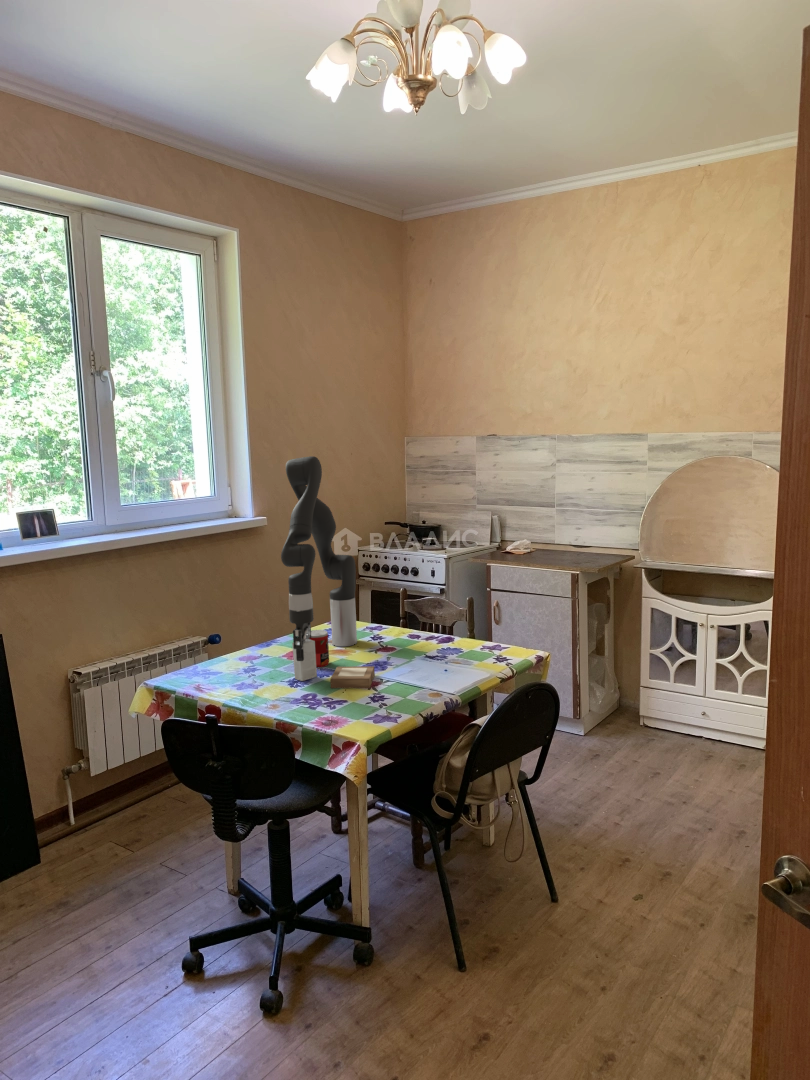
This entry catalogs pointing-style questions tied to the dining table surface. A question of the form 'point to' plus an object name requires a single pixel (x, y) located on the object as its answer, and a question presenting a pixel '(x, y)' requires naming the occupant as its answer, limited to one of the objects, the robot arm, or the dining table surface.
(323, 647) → the canned food
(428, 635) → the dining table surface
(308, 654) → the skincare box
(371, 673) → the base slab
